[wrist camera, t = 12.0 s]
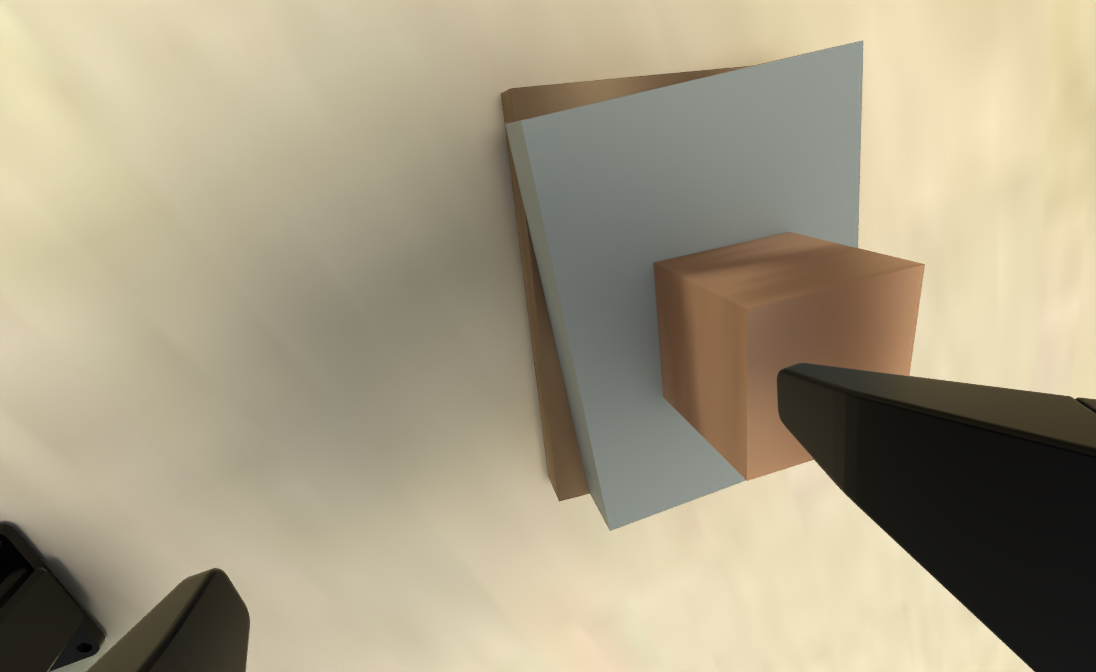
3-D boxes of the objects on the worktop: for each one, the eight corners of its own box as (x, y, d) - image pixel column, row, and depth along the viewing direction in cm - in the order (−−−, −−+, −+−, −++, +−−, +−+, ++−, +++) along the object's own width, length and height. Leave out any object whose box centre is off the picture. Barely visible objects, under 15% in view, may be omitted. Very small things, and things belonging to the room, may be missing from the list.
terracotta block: (663, 397, 18) (746, 480, 14) (653, 262, 17) (747, 308, 12) (785, 363, 19) (901, 431, 15) (790, 232, 17) (924, 264, 13)
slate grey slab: (589, 491, 22) (609, 530, 20) (505, 123, 16) (520, 120, 14) (810, 412, 24) (852, 440, 22) (806, 53, 18) (863, 40, 16)
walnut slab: (544, 467, 24) (559, 501, 22) (497, 95, 18) (510, 88, 16) (768, 413, 27) (802, 438, 24) (791, 67, 21) (839, 57, 18)
